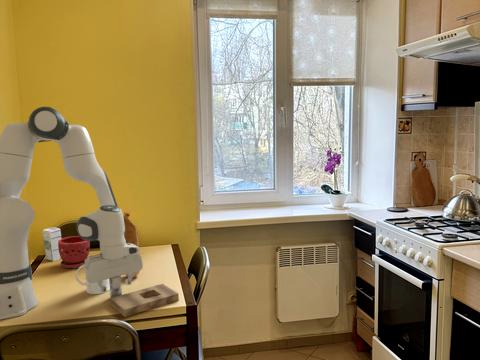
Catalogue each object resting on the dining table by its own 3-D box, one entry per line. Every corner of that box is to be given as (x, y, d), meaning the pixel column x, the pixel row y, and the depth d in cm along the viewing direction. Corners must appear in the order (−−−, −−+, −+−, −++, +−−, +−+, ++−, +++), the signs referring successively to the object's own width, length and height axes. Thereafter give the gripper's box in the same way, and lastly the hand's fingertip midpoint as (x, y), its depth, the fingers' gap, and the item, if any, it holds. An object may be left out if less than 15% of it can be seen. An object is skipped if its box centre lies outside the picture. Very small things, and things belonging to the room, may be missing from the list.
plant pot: (73, 272, 184) (71, 244, 183) (53, 267, 191) (51, 241, 189) (97, 262, 196) (95, 237, 194) (77, 258, 202) (75, 233, 200)
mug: (77, 297, 157) (75, 265, 155) (76, 289, 165) (74, 259, 163) (111, 291, 162) (109, 260, 160) (108, 284, 169) (106, 254, 168)
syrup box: (63, 258, 204) (61, 228, 202) (52, 261, 199) (49, 230, 197) (56, 256, 207) (53, 226, 205) (45, 259, 202) (42, 229, 200)
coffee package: (140, 252, 210) (138, 207, 207) (139, 260, 198) (136, 212, 195) (119, 253, 208) (116, 208, 205) (116, 261, 196) (113, 214, 193)
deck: (124, 317, 140) (124, 309, 140) (110, 305, 150) (110, 298, 149) (178, 300, 152) (178, 293, 152) (162, 290, 162) (162, 283, 161)
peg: (113, 300, 153) (111, 279, 152) (108, 297, 157) (107, 276, 155) (123, 297, 156) (122, 276, 155) (119, 294, 159) (118, 273, 158)
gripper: (87, 259, 145) (90, 298, 147) (143, 246, 158) (145, 283, 160) (81, 255, 150) (84, 293, 152) (136, 243, 163) (138, 278, 165)
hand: (116, 287), depth 156 cm, fingers open, 8 cm apart
